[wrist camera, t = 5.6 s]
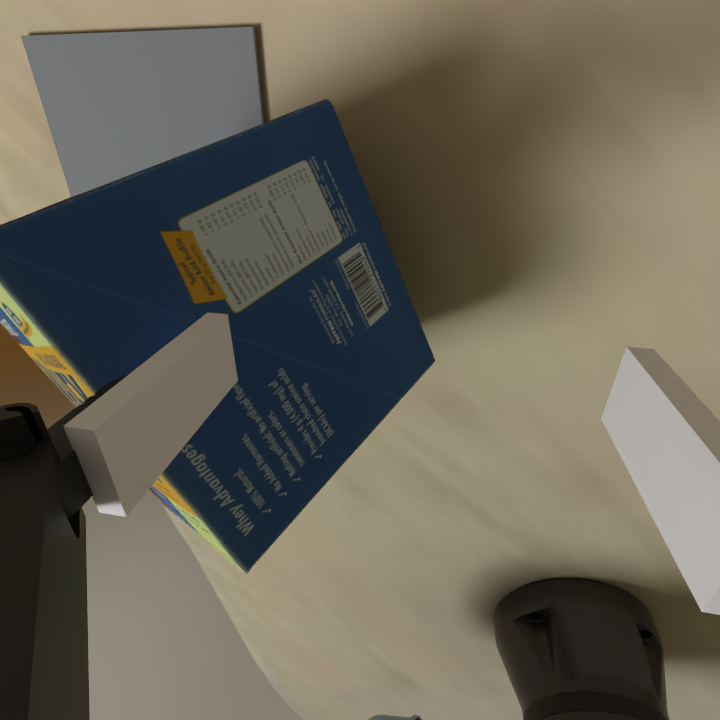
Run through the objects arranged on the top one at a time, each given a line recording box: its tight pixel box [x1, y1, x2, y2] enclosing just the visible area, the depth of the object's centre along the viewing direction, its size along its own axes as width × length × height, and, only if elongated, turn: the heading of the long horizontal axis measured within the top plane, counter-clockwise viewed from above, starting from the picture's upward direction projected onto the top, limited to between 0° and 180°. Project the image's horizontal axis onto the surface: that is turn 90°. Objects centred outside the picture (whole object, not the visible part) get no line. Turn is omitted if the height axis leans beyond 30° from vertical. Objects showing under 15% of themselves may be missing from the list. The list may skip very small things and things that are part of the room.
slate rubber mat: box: [21, 27, 265, 197], centre depth 30 cm, size 22×15×1 cm
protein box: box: [0, 99, 435, 574], centre depth 22 cm, size 10×15×16 cm
